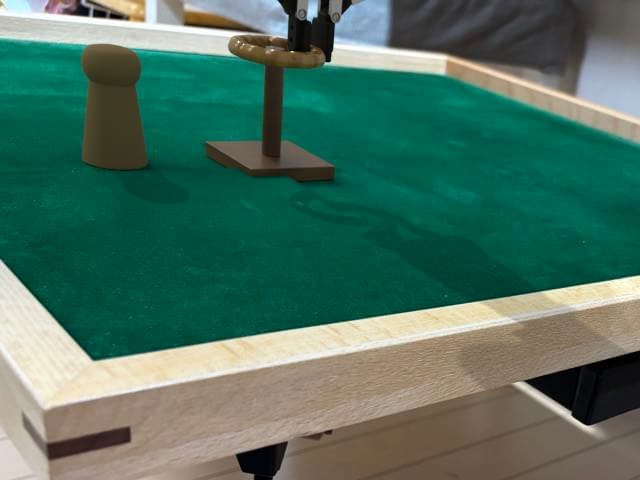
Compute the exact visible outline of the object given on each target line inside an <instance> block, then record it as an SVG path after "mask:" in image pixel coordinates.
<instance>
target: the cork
mask: <svg viewBox="0 0 640 480" xmlns="http://www.w3.org/2000/svg"><path fill="white" fill-rule="evenodd" d="M80 65H81V68H82V72H83V74H84V75H85V76H86V78H87V79H88V84H87V95H86V105H85V119H84V127H83V140H82V149H81V150H82V151H81V160H82V162H83V163H86V164H87V165H90V166H92V167H93V166H94V167H97V168H101V169H108V170H118V171H120V170H121V171H129V170H130V171H131V170H139V169H144V168H146V167H147V166H148V165H149V160H148V154H147V153H148V152H147V148H146V147H147V146H146V141H145V135H144V130H143V123H142V116H141V110H140V104H139V98H138V92H137V86H136V85H137V83H138V82H139V81H140V78H141V74H142V63H141V59H140V57H139V56H138V54H137V53H136V52H135V51H134V50H132V49H130V48H128V47H124V46H122V45H118V44H114V43H91V44H89V45H87V46H85V48H84V49H83V50H82V53H81V57H80Z"/></svg>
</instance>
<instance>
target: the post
mask: <svg viewBox="0 0 640 480" xmlns="http://www.w3.org/2000/svg"><path fill="white" fill-rule="evenodd" d="M265 48H268V49H275V50H281V51H286V50H285V49H284V48H281V47H276V46H266V47H265ZM285 70H286V68H281V67H274V66H267V65H264V75H263V97H262V98H263V99H262V100H263V101H262V103H263V104H262V126H261V127H262V128H261V140H238V141H237V140H235V141H233V140H232V141H231V140H230V141H228V140H227V141H221V140H219V141H205V156H206V157H208V158H210V159H211V160H213V161H214V162H216V163H218V164H220V165H221V166H222V167H224V168H226V169H233V168H234V169H238V170H239V171H242V172H243V173H245V174H246V175H247V176H249V177H270V176H271V177H272V176H273V177H274V176H287V177H289V178H291V179H292V180H294V181H295V182H309V181H310V182H311V181H331V180H333V181H334V180H335V177H336V176H335V174H336V166H335V165H333V164H332V163H329V162H328V161H326V160H324V159H323V158H321V157H318V156H317V155H315V154H313V153H311V152H309V151H308V150H306V149H304V148H302V147H300V146H298V145H297V144H295V143H293V142H291V141H289V140H282V134H283V133H282V131H283V112H284V111H283V110H284V91H285V90H284V89H285Z"/></svg>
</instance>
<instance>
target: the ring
mask: <svg viewBox="0 0 640 480" xmlns="http://www.w3.org/2000/svg"><path fill="white" fill-rule="evenodd" d="M266 46H276V47H281V48H284V49H285V50H286V51H281V50H275V49H268V48H265V47H266ZM227 50H228V51H229V53H230V54H231V55H233V56H235V57H237V58H239V59H241V60H243V61H246V62H250V63H255V64H258V65H262V66H265V65H267V66H274V67H281V68H285V69H291V70H314V69H319V68H322V67H323V66H324V65H325V64H326V62H325V54H324V52H323V50H322V49H320V48H318V47H315V46H313V45H311V48H310V52H289V48H288V46H287V37H279V36H274V35H273V36H272V35H266V34H264V35H263V34H248V33H247V34H237V35H233V36H231V37H230V39H229V41H228V44H227Z"/></svg>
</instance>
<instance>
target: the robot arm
mask: <svg viewBox="0 0 640 480" xmlns="http://www.w3.org/2000/svg"><path fill="white" fill-rule="evenodd" d="M364 1H365V0H317V8H316V9H317V11H316V14H317V16H313V17H312V19H311V20H308V13H309V0H277V2H278V3H279V5H280V6H281V8H282V9H283V12H284V14H285V15H286V16H288V18H287V37H286V38H287V46H288V48H289V52H310V48H311V45H313V46H315V47H318V48H320V49H322V50H323V52H324V54H325V63H328V64H329V63H331V62H332V56H333V52H334V48H335V47H334V46H335V35H336V34H335V32H336V24H339V23H340V22H341V20H342V16H343V15H344V14H345V12H347V11H348V9H350V8H351V6H355V5H357V4H359V3H362V2H364Z"/></svg>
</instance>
